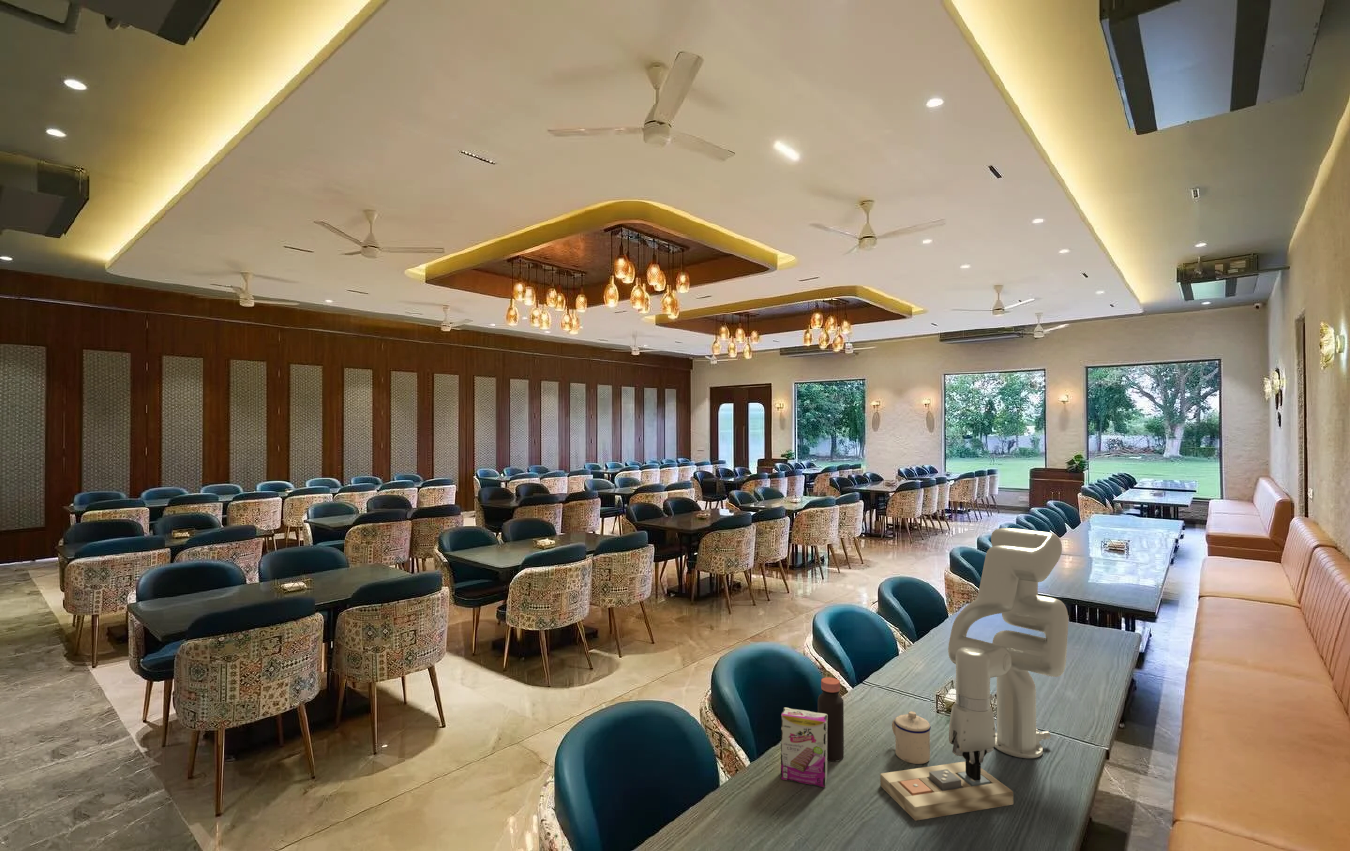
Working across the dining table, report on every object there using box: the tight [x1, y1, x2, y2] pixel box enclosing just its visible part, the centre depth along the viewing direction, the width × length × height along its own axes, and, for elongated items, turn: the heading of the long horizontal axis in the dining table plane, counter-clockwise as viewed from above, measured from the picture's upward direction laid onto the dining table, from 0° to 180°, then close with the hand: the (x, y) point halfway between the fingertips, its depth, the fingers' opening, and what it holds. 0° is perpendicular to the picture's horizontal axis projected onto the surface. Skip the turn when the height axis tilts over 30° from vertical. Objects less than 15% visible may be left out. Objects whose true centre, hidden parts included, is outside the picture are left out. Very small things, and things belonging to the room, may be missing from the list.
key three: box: [929, 769, 961, 791], centre depth 147 cm, size 5×5×3 cm
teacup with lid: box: [891, 711, 932, 765], centre depth 167 cm, size 12×9×12 cm
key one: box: [900, 779, 932, 796], centre depth 146 cm, size 5×5×3 cm
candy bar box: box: [780, 707, 828, 788], centre depth 154 cm, size 11×5×16 cm, turn 71°
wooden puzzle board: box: [879, 760, 1014, 822], centre depth 147 cm, size 26×14×3 cm, turn 103°
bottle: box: [817, 676, 845, 762], centre depth 166 cm, size 7×7×20 cm
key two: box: [958, 772, 990, 786], centre depth 149 cm, size 5×5×3 cm
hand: (973, 776), depth 149 cm, fingers closed
